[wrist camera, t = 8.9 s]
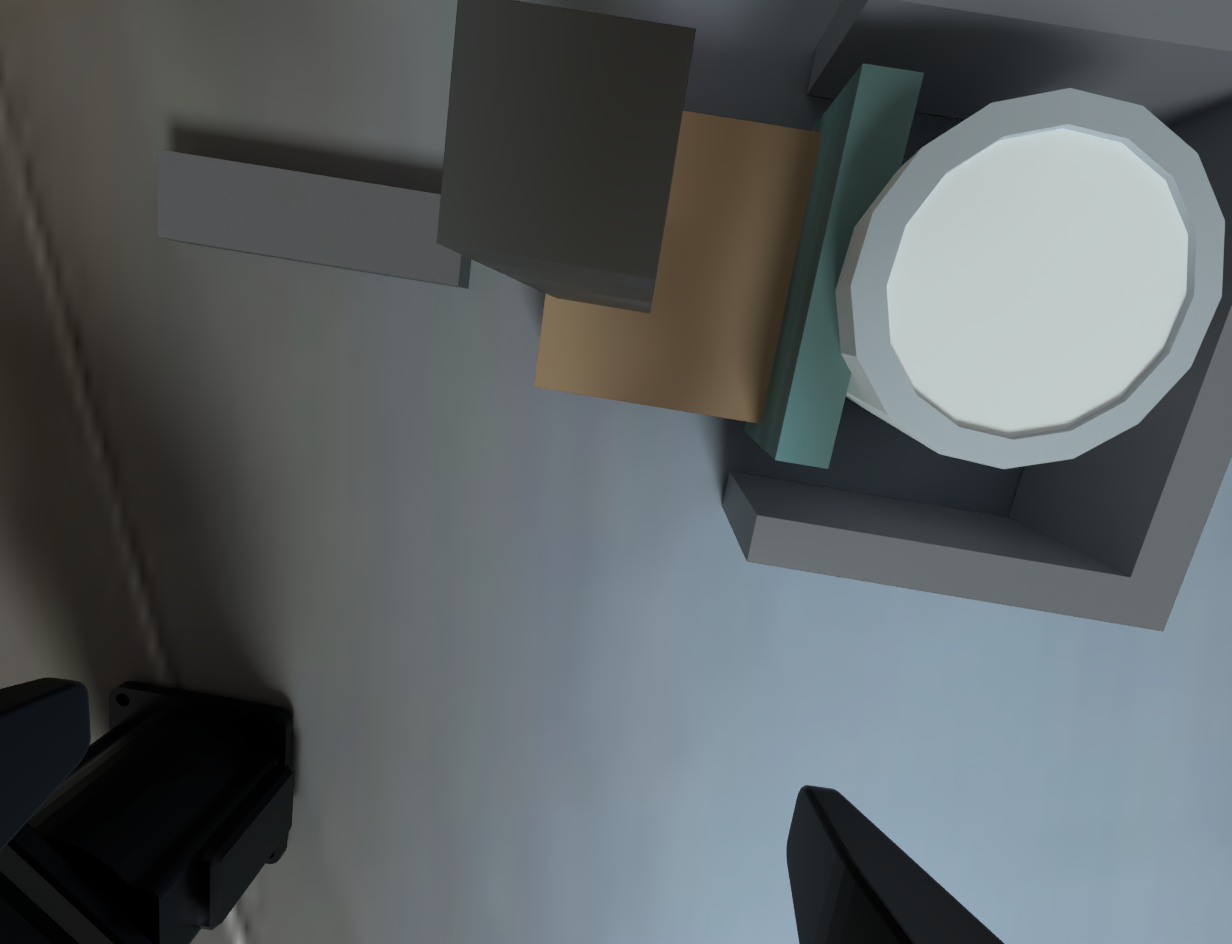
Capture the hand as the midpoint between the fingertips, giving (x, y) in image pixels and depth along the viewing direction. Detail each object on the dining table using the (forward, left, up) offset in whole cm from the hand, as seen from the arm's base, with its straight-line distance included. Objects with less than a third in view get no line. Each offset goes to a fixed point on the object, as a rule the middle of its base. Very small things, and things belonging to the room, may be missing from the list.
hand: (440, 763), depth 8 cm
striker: (+3, +7, -11) cm, 14 cm away
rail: (-9, +7, -13) cm, 17 cm away
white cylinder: (+9, +8, -13) cm, 17 cm away
